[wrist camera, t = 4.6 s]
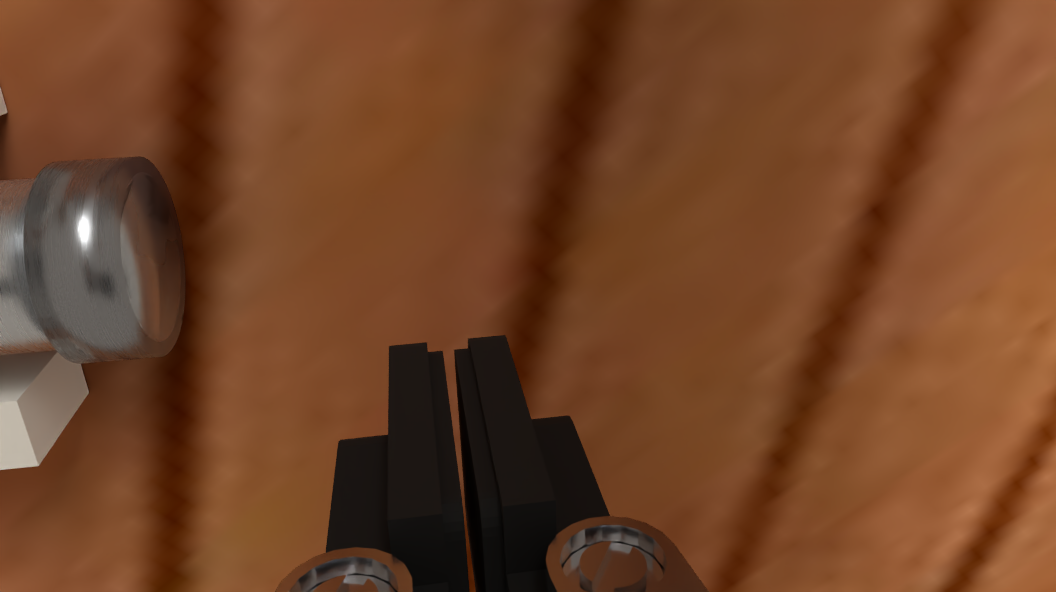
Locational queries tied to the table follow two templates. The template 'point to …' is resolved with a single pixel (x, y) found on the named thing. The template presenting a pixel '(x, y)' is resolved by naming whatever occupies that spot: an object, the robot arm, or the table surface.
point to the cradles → (35, 400)
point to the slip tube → (90, 262)
